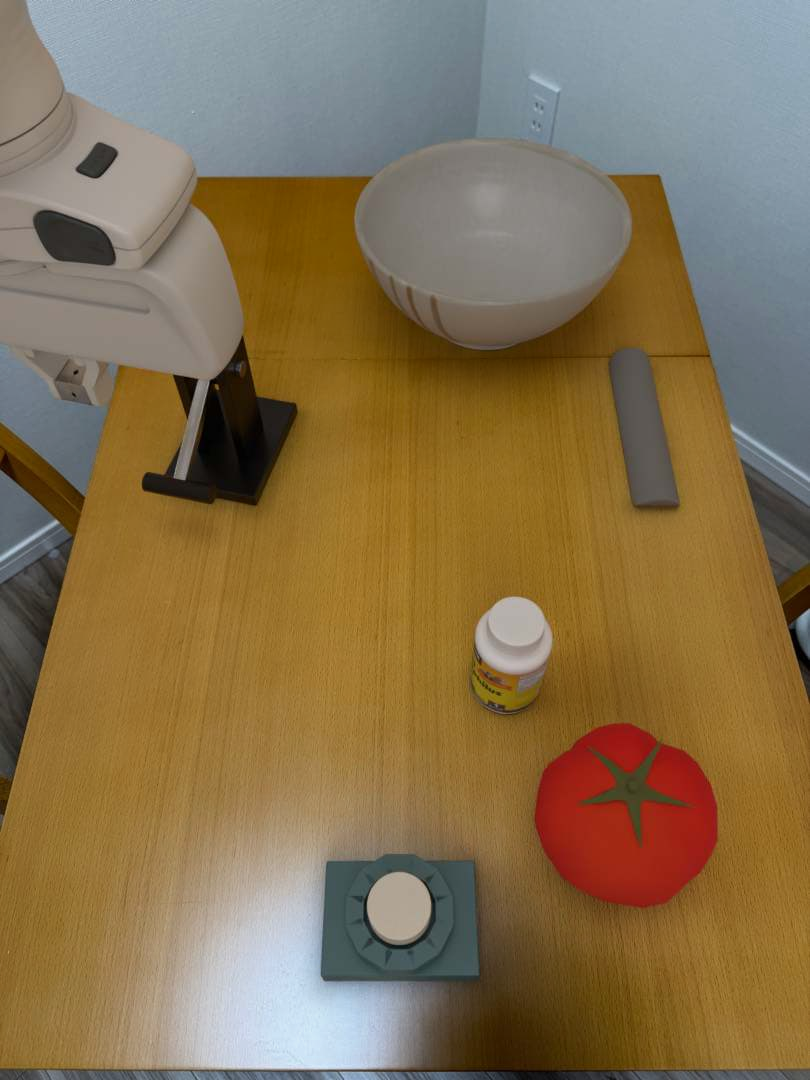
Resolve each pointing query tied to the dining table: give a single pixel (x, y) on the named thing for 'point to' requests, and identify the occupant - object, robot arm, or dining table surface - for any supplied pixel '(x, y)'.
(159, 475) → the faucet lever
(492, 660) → the supplement bottle
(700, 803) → the tomato
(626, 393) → the gray half cylinder
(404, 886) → the beige push button
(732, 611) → the dining table surface
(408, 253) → the decorative bowl
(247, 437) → the lever stand
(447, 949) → the push button box
